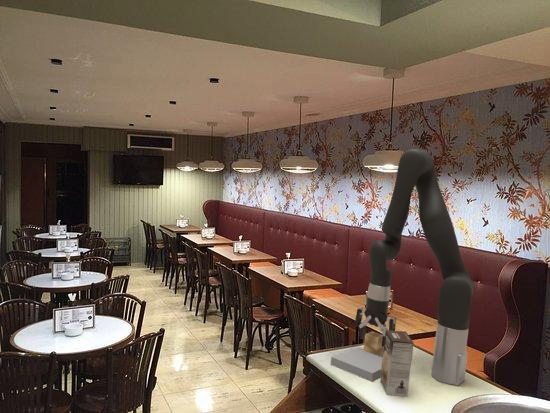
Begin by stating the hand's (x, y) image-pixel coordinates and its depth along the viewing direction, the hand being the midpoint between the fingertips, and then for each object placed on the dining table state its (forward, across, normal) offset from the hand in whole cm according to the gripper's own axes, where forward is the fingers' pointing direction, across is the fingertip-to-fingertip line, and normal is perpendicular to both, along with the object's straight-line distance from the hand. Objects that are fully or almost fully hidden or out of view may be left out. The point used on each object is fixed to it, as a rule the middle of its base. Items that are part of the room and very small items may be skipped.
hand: (372, 342), depth 156 cm
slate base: (+4, -3, +12) cm, 14 cm away
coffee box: (+4, -17, +19) cm, 26 cm away
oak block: (+4, 0, 0) cm, 4 cm away
